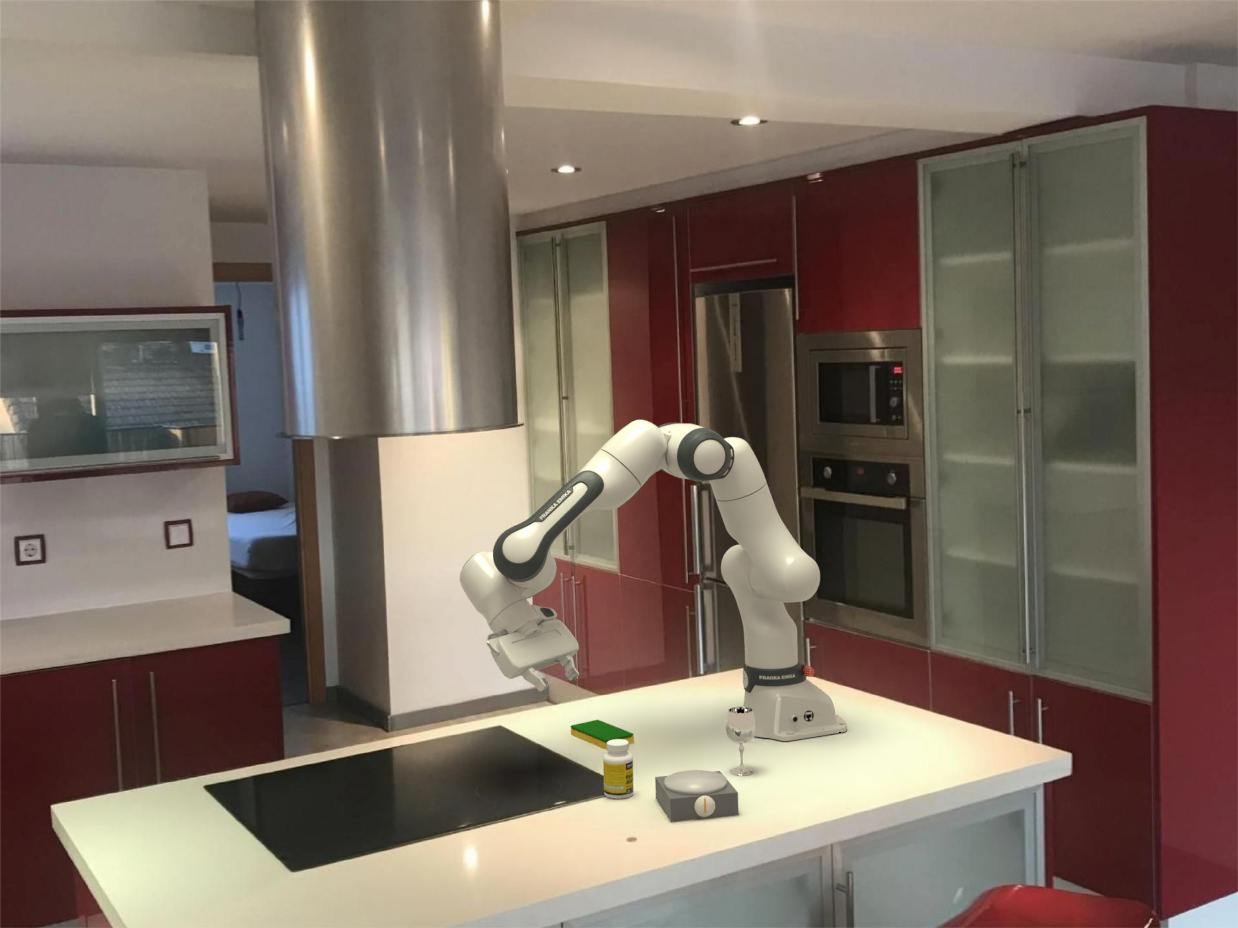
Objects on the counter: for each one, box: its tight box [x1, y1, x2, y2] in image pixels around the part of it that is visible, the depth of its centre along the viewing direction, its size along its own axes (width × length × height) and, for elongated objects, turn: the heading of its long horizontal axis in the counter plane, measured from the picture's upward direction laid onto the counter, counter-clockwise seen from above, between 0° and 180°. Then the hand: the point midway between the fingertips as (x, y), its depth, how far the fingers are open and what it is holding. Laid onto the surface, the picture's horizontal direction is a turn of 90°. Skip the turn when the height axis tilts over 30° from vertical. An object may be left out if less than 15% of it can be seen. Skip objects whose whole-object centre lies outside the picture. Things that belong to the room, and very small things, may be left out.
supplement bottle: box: [602, 739, 634, 800], centre depth 236 cm, size 5×5×10 cm
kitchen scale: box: [654, 769, 739, 823], centre depth 228 cm, size 12×13×5 cm
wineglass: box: [725, 706, 756, 776], centre depth 246 cm, size 6×6×12 cm
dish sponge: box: [570, 719, 635, 750], centre depth 271 cm, size 7×14×2 cm, turn 34°
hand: (560, 683), depth 241 cm, fingers open, 8 cm apart
